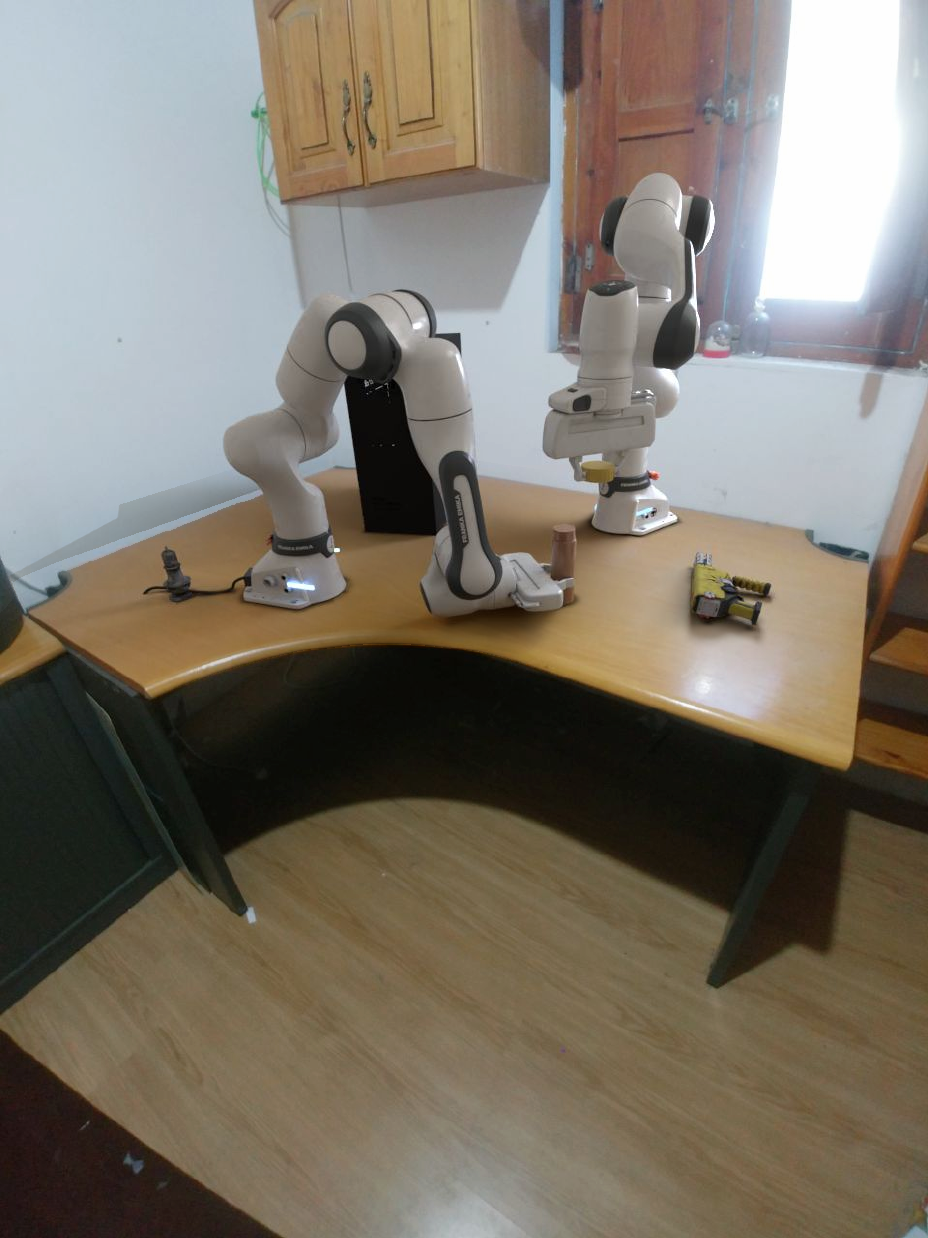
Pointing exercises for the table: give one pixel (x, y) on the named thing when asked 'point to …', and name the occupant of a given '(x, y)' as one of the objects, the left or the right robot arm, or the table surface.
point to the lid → (598, 471)
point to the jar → (563, 557)
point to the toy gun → (722, 592)
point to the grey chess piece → (175, 577)
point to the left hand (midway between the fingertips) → (566, 574)
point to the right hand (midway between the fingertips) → (596, 478)
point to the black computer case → (391, 459)
